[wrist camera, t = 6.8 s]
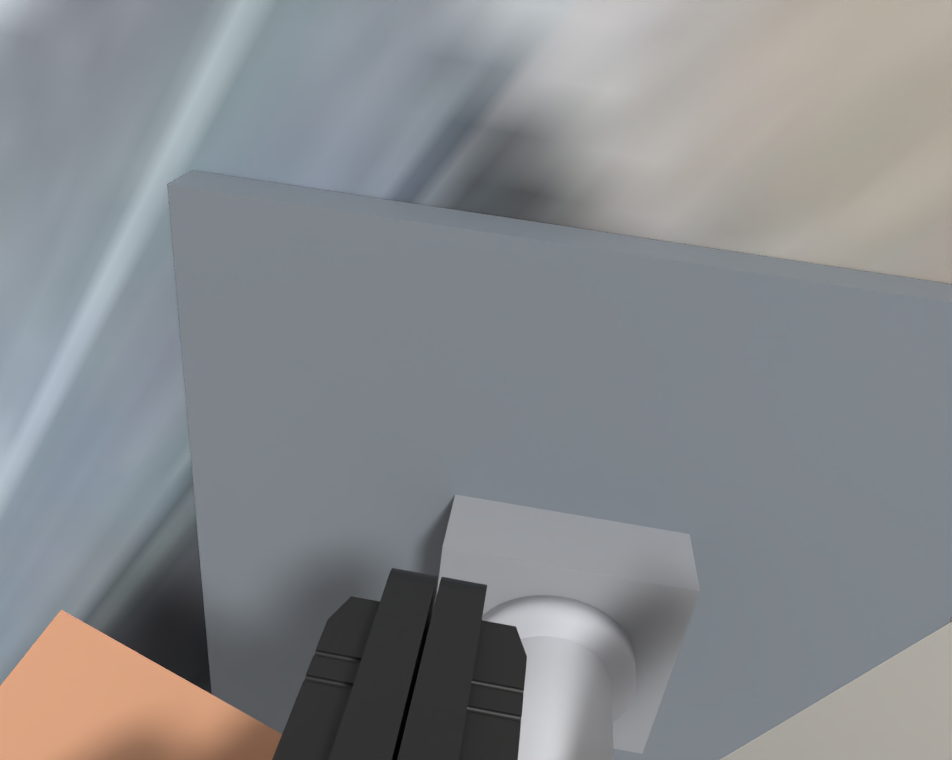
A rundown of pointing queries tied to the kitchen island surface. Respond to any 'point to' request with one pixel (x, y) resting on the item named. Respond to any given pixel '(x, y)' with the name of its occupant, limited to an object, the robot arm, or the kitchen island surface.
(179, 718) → the star cap
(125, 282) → the kitchen island surface
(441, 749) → the robot arm
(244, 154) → the kitchen island surface
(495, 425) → the post board
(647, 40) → the kitchen island surface
